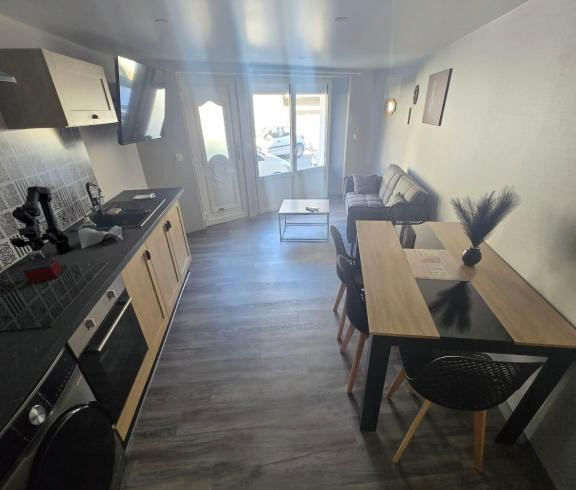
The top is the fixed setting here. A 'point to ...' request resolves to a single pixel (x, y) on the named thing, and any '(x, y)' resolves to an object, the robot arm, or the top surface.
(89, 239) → the grey crumpled fabric piece
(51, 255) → the lid
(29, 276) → the red box
